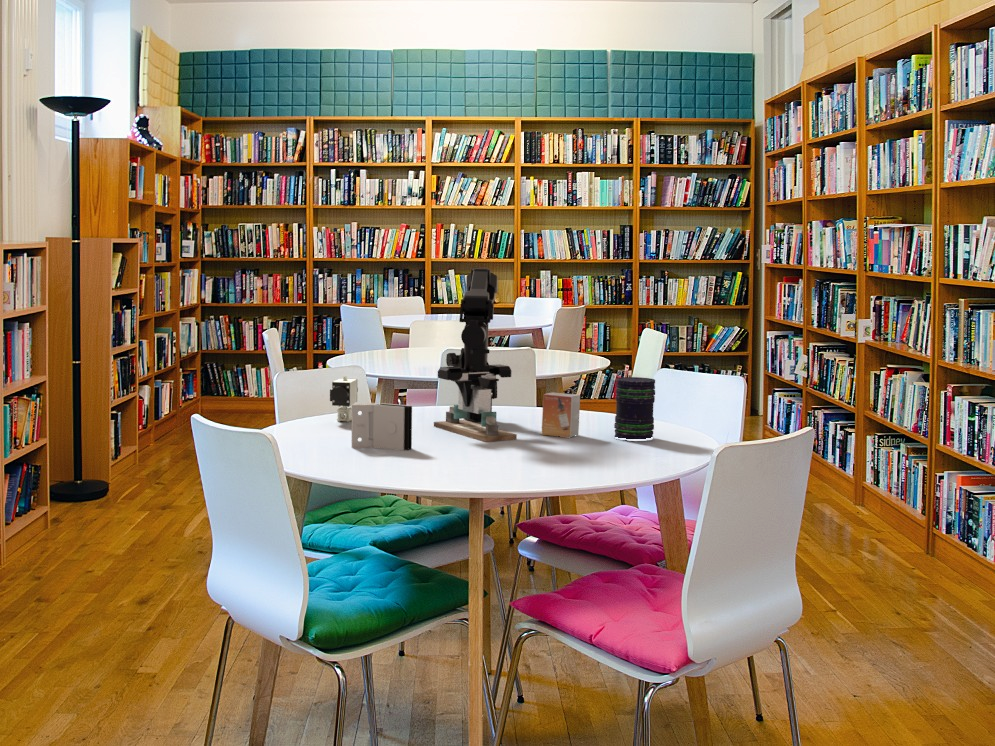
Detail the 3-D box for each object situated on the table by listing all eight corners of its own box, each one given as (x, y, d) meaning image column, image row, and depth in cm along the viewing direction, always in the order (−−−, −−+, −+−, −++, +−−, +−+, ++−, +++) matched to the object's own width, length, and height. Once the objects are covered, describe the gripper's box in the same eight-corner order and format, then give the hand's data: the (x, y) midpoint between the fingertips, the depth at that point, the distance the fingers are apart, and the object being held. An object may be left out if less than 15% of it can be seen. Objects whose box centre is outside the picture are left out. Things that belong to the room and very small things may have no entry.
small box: (541, 435, 270) (542, 394, 269) (550, 432, 275) (551, 391, 274) (570, 438, 266) (571, 396, 265) (579, 435, 271) (580, 394, 270)
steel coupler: (491, 413, 268) (491, 389, 267) (477, 414, 266) (478, 390, 265) (471, 407, 276) (471, 384, 276) (457, 408, 274) (458, 385, 274)
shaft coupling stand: (463, 424, 285) (463, 400, 284) (516, 439, 263) (517, 413, 262) (433, 426, 280) (434, 402, 280) (485, 441, 258) (485, 416, 258)
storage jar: (652, 442, 262) (654, 382, 260) (612, 440, 264) (614, 380, 262) (654, 436, 272) (656, 378, 270) (615, 434, 274) (617, 376, 272)
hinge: (350, 448, 247) (350, 404, 246) (357, 444, 252) (357, 402, 251) (408, 450, 245) (409, 407, 244) (414, 447, 250) (415, 404, 249)
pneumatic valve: (358, 418, 292) (358, 374, 291) (348, 424, 281) (348, 379, 279) (338, 417, 293) (338, 373, 291) (327, 423, 281) (327, 378, 280)
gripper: (490, 341, 281) (489, 400, 283) (427, 343, 271) (426, 404, 273) (513, 344, 272) (511, 405, 273) (449, 346, 262) (448, 410, 264)
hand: (474, 406), depth 271 cm, fingers closed on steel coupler, 4 cm apart
